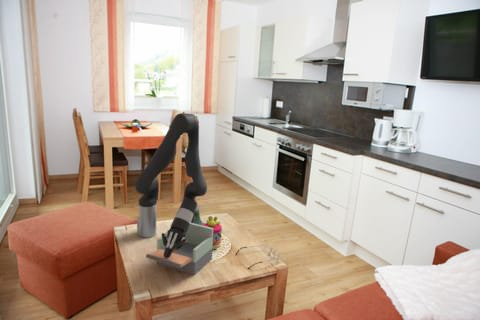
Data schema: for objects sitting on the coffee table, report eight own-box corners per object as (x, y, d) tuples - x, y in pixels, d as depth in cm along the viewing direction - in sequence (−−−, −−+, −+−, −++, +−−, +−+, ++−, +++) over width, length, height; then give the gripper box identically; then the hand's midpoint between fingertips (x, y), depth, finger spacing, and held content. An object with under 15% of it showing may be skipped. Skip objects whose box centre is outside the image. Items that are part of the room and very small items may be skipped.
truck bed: (176, 248, 171) (177, 219, 168) (211, 259, 164) (213, 228, 160) (157, 263, 157) (157, 231, 154) (194, 275, 149) (195, 241, 146)
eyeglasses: (282, 263, 165) (283, 254, 164) (248, 271, 157) (249, 261, 155) (265, 248, 179) (266, 239, 178) (233, 254, 170) (234, 245, 169)
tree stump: (202, 221, 208) (206, 197, 200) (209, 243, 191) (214, 217, 184) (172, 222, 201) (175, 197, 194) (176, 245, 185) (180, 218, 177)
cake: (223, 249, 175) (225, 221, 171) (204, 251, 171) (205, 223, 167) (217, 240, 184) (218, 214, 181) (198, 242, 180) (199, 215, 177)
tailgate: (160, 248, 155) (146, 254, 146) (192, 258, 149) (179, 264, 139) (159, 251, 155) (145, 257, 146) (192, 261, 149) (179, 268, 139)
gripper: (166, 213, 152) (149, 250, 144) (192, 220, 147) (175, 258, 139) (173, 220, 158) (156, 256, 150) (198, 227, 153) (182, 264, 145)
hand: (166, 257), depth 144 cm, fingers closed
